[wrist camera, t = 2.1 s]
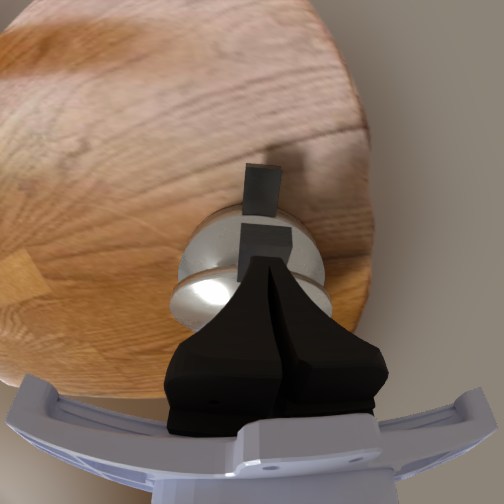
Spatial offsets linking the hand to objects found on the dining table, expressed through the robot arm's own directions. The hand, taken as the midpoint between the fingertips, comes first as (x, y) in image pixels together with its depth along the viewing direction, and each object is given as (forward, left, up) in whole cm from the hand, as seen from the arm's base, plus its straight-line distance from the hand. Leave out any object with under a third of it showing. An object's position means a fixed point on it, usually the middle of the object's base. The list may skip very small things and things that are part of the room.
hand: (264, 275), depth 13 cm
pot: (-7, 0, -10) cm, 12 cm away
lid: (-6, 0, -5) cm, 7 cm away
